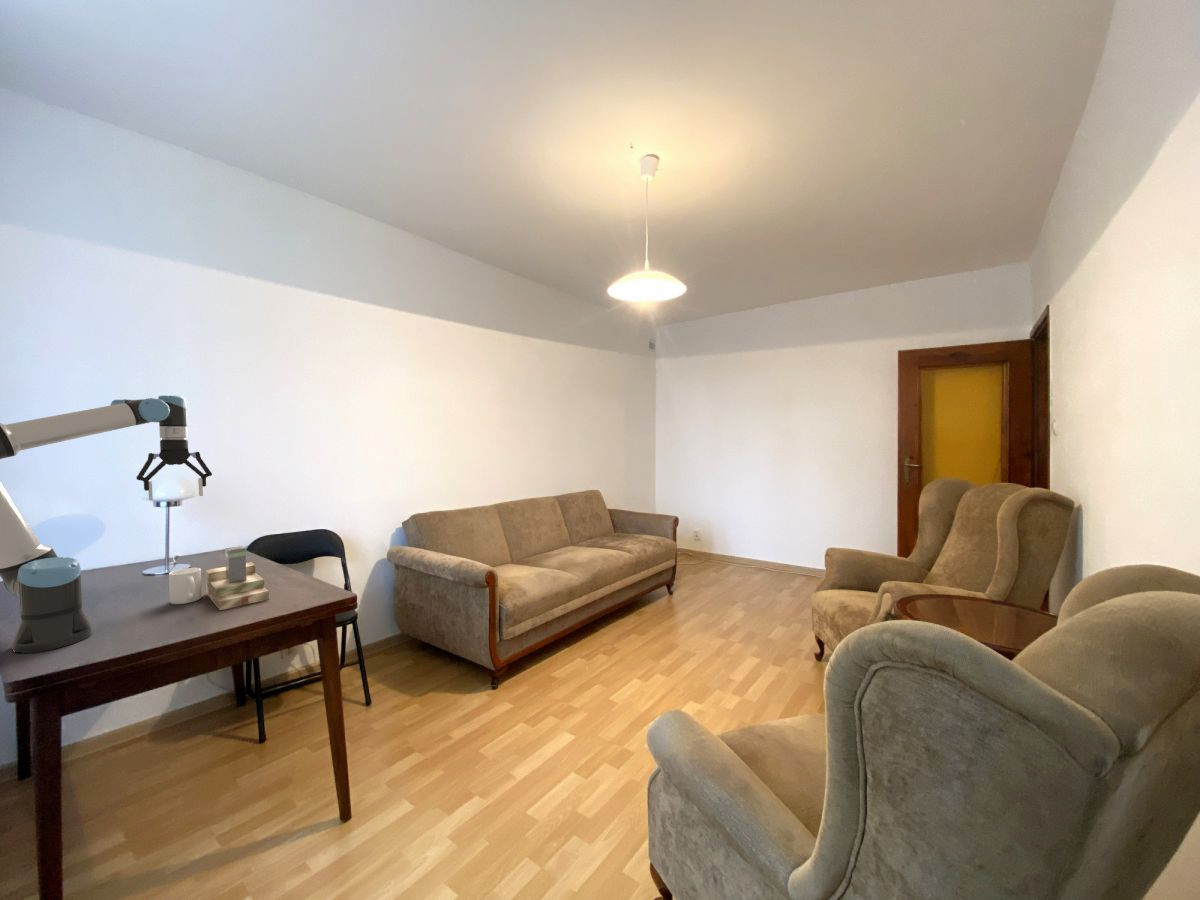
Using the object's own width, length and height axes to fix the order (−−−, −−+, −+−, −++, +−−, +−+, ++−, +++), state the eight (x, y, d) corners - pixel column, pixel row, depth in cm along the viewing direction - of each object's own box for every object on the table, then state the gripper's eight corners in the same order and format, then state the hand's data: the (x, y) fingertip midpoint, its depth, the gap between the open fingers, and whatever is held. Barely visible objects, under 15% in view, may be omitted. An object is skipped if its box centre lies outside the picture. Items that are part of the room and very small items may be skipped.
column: (229, 583, 170) (227, 550, 169) (226, 580, 173) (224, 548, 173) (246, 580, 174) (245, 547, 173) (243, 577, 177) (242, 545, 177)
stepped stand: (220, 610, 160) (219, 584, 160) (206, 593, 177) (205, 570, 176) (269, 599, 171) (268, 574, 170) (252, 584, 187) (251, 562, 187)
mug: (178, 608, 162) (177, 577, 162) (166, 601, 169) (165, 572, 168) (209, 600, 169) (208, 571, 169) (196, 594, 176) (195, 566, 175)
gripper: (125, 439, 158) (128, 502, 159) (220, 438, 177) (222, 494, 178) (124, 439, 163) (127, 500, 164) (216, 438, 182) (218, 493, 183)
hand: (176, 497), depth 171 cm, fingers open, 13 cm apart
